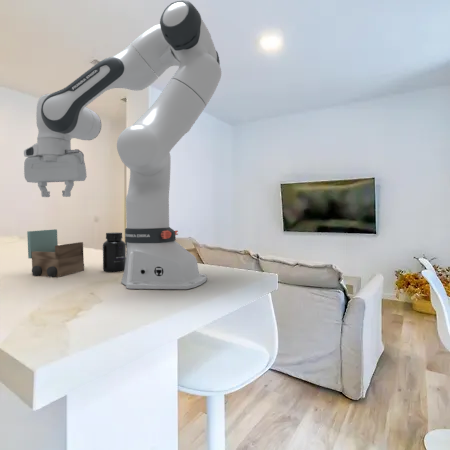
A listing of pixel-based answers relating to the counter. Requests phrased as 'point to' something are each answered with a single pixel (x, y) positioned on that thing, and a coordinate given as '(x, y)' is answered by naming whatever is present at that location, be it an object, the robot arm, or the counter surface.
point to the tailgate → (41, 241)
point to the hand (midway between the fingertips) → (56, 196)
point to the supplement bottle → (114, 253)
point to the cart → (59, 261)
